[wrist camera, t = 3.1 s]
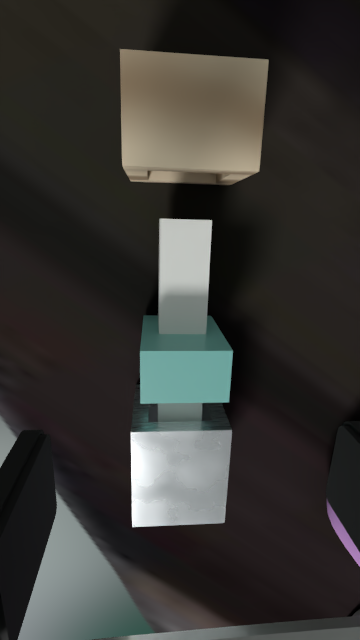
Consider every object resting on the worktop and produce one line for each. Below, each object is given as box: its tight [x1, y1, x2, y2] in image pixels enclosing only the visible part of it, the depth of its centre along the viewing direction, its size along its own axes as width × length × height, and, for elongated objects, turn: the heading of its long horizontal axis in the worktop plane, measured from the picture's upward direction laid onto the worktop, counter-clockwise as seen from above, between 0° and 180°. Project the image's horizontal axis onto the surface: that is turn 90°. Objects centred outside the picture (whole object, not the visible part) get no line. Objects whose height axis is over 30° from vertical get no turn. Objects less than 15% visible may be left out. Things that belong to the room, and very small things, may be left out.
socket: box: [120, 49, 269, 185], centre depth 18 cm, size 4×6×6 cm
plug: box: [140, 219, 233, 422], centre depth 21 cm, size 18×5×7 cm, turn 178°
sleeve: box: [131, 385, 232, 527], centre depth 24 cm, size 7×6×6 cm
